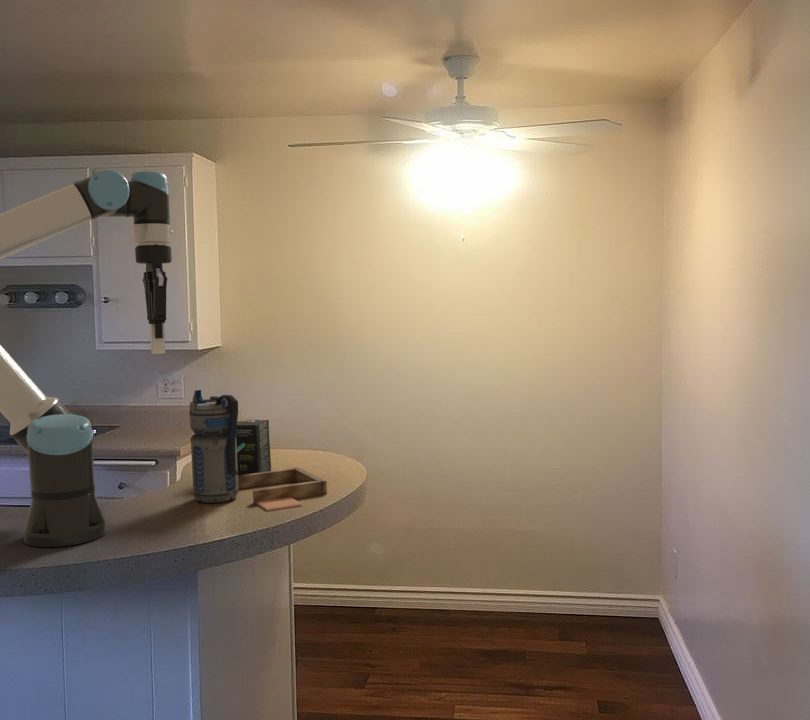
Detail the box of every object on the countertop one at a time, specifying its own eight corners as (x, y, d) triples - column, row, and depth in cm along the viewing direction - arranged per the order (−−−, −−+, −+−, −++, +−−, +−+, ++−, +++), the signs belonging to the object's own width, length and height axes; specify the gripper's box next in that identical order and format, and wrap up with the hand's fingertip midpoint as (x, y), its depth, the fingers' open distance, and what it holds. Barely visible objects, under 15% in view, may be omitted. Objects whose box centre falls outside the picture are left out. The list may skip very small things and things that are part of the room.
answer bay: (255, 504, 185) (255, 491, 185) (231, 488, 201) (231, 476, 200) (326, 493, 193) (326, 480, 193) (298, 479, 209) (298, 467, 209)
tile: (267, 511, 179) (266, 508, 179) (255, 503, 186) (255, 500, 186) (301, 505, 183) (301, 503, 183) (288, 498, 190) (288, 496, 190)
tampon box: (271, 474, 215) (269, 418, 214) (259, 482, 206) (257, 424, 205) (231, 474, 217) (229, 418, 216) (217, 482, 208) (215, 424, 207)
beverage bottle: (223, 508, 182) (218, 395, 180) (182, 500, 189) (176, 392, 187) (255, 498, 191) (251, 390, 188) (215, 491, 198) (210, 387, 196)
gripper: (177, 243, 176) (182, 354, 178) (163, 246, 187) (169, 351, 189) (141, 242, 172) (146, 356, 174) (129, 246, 183) (135, 352, 185)
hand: (158, 353), depth 181 cm, fingers closed
